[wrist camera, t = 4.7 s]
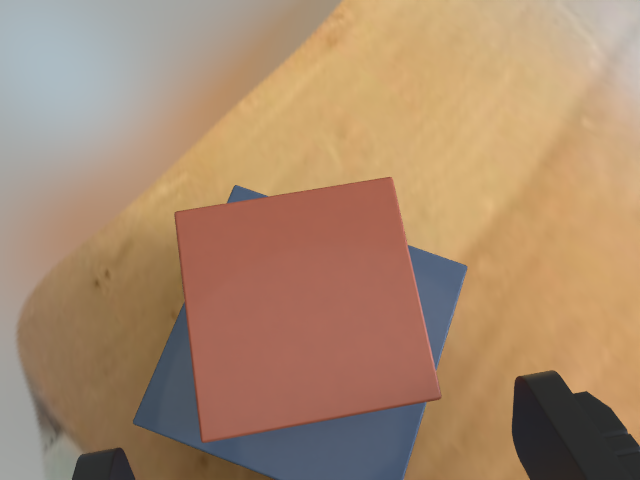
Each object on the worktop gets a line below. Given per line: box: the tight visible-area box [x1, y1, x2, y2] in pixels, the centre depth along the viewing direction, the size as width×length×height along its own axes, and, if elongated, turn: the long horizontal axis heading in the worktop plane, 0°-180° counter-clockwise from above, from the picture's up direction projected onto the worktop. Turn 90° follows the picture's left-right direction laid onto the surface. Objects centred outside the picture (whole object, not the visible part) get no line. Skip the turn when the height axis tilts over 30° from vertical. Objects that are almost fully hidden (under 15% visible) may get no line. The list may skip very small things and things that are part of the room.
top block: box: [174, 177, 441, 443], centre depth 17 cm, size 5×5×8 cm
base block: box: [133, 185, 467, 480], centre depth 23 cm, size 9×9×6 cm
